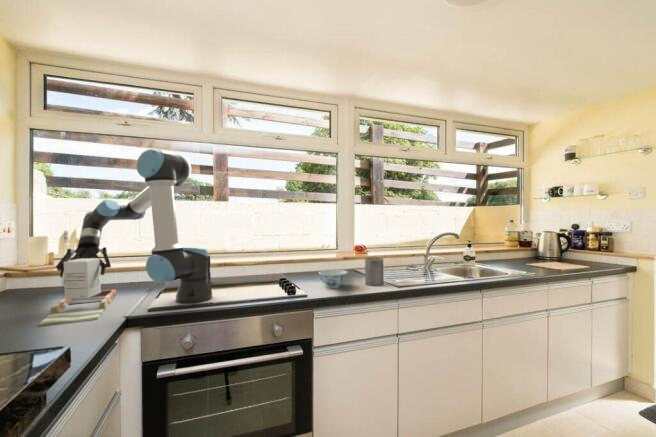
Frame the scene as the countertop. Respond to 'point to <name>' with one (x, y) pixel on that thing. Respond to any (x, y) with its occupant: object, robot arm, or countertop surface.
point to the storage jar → (209, 270)
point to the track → (76, 316)
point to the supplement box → (81, 278)
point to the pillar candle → (374, 271)
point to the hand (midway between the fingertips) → (81, 282)
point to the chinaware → (333, 277)
